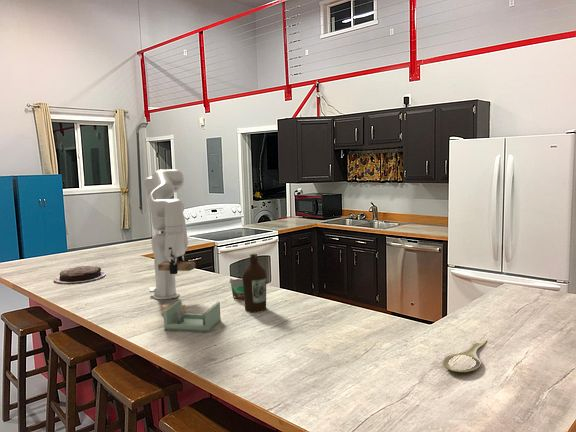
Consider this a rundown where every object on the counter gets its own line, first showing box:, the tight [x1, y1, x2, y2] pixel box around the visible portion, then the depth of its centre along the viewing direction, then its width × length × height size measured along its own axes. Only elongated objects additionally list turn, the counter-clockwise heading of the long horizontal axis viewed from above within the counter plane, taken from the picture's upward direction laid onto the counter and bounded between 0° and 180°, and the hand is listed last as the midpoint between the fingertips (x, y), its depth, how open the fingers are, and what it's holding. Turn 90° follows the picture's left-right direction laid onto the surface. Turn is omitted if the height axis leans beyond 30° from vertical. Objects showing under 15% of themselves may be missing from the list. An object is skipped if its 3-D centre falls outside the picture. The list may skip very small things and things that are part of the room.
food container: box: [229, 277, 245, 301], centre depth 226 cm, size 12×6×10 cm, turn 105°
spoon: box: [442, 339, 488, 373], centre depth 155 cm, size 35×11×2 cm, turn 143°
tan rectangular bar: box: [161, 303, 187, 316], centre depth 206 cm, size 10×3×4 cm, turn 79°
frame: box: [163, 300, 221, 334], centre depth 191 cm, size 18×14×8 cm
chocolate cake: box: [53, 265, 106, 285], centre depth 277 cm, size 28×28×7 cm
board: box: [158, 261, 196, 272], centre depth 198 cm, size 14×6×3 cm, turn 78°
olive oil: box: [241, 253, 267, 313], centre depth 209 cm, size 11×11×25 cm
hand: (177, 271), depth 199 cm, fingers closed on board, 6 cm apart
